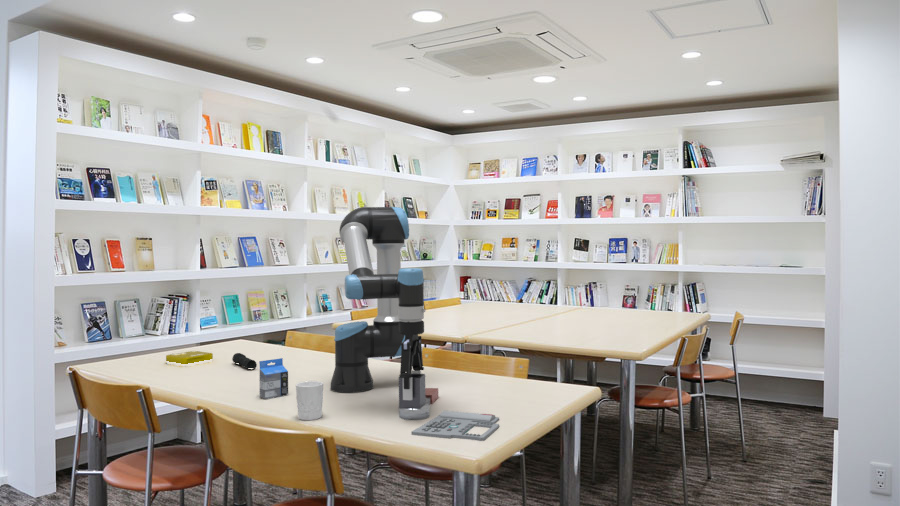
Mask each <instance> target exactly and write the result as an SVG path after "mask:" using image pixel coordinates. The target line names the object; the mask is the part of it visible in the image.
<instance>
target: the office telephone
mask: <svg viewBox="0 0 900 506" xmlns="http://www.w3.org/2000/svg"><path fill="white" fill-rule="evenodd" d="M499 420H500V416H499V417H498V416H496V415H495V414H490V413H479V412H478V413H477V412H465V411H454V410H442V411H441V413H440V414H439V415H437V416H436V417H434V418H432V419H430V420H429V421H427V422H426V423H423V424H422V425H420V426H418V427H417V428H415V429H413V430H412V431H411V432H410V433H411V435H412V436H419V437H431V438H439V439H460V440H461V439H463V440H472V441H473V440H474V441H479V442H484V441H485V440H486V439H487V438H489V437H490V436H491V435H492V434H493V433H494V432H495V431H497V430H498V429H499V427H500V424H499V423H498V422H499ZM474 427H478V428H485V429H486V428H488V429H487V430H486V431H485V432H484V433H482V434H480V433H478V434H476V433H474V434H473V433H469V431H470V430H471V429H472V428H474Z"/></svg>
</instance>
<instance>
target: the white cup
mask: <svg viewBox="0 0 900 506" xmlns="http://www.w3.org/2000/svg"><path fill="white" fill-rule="evenodd" d="M295 392H296V404H297V405H296V407H297V416H298V417H297V418H298V419H299V420H301V421H315V420H318V419H321V418H322V416H323V404H324V403H323V402H324V400H323V399H324V382H323V381H317V380H306V381H301V382H297V383H296V384H295Z"/></svg>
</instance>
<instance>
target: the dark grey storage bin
mask: <svg viewBox="0 0 900 506" xmlns="http://www.w3.org/2000/svg"><path fill="white" fill-rule="evenodd" d="M411 377H412V392H413V400H403V378H400V377H398V409H399V408H407V409H421V408H422V407H423V406H424V405H425V404H426V396H425V389H426V373H421V374H412V373H411Z"/></svg>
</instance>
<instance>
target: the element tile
mask: <svg viewBox="0 0 900 506" xmlns="http://www.w3.org/2000/svg"><path fill="white" fill-rule="evenodd" d="M213 355H214V354H213V353H212V352H205V351H199V350H198V351H197V350H191V351H182V352H175V353H171V354H166V356H165V362H166V361H169V362H176V363H181V364H188V363H194V362H199V361H204V360H210V359H213V357H214V356H213ZM213 360H214V359H213Z"/></svg>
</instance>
